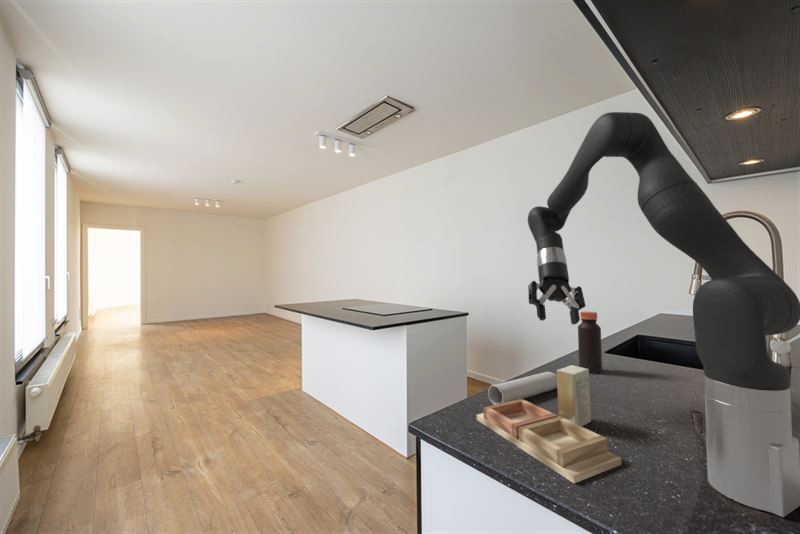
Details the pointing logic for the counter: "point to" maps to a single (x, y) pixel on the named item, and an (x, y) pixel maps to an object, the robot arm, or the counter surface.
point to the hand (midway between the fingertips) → (559, 321)
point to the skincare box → (574, 394)
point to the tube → (522, 388)
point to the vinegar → (590, 343)
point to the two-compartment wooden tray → (550, 439)
